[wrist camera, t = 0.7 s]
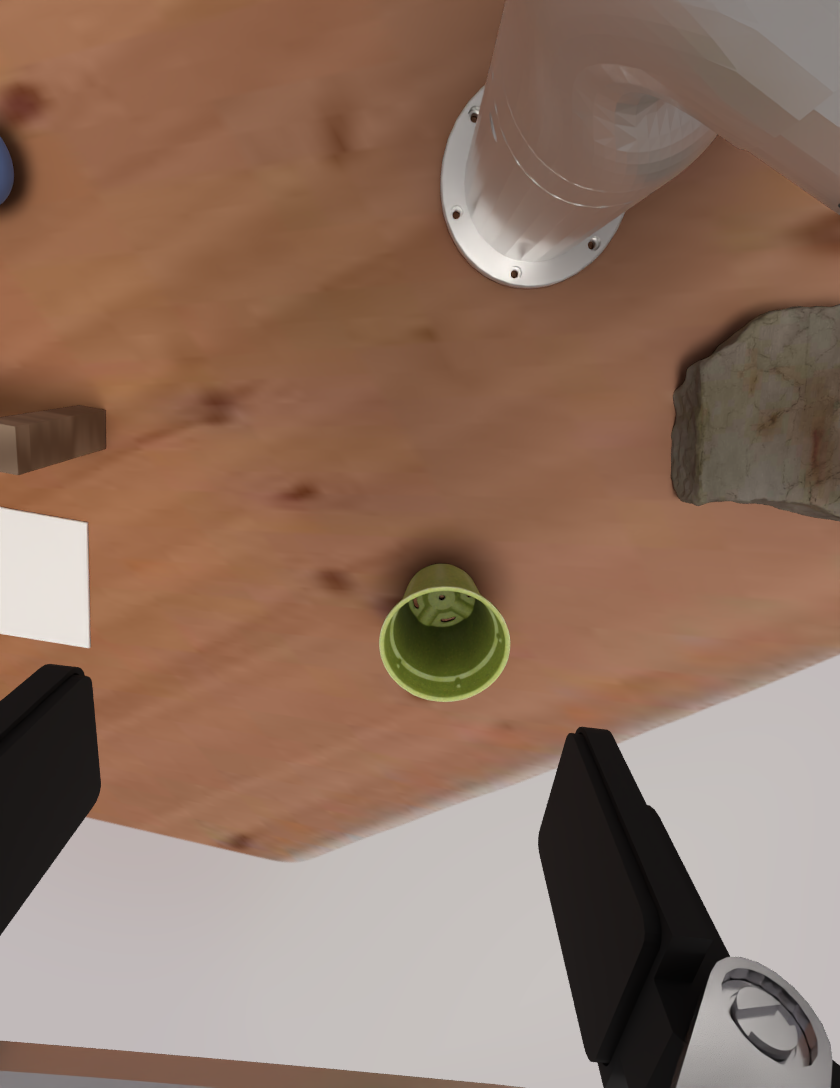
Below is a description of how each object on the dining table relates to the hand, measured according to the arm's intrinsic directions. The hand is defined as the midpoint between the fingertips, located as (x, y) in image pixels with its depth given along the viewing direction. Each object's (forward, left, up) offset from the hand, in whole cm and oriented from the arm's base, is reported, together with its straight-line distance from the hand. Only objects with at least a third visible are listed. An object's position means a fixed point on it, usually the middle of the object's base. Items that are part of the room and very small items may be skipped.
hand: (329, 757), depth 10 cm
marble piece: (-7, +28, -34) cm, 45 cm away
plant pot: (+12, +6, -34) cm, 36 cm away
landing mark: (+16, -30, -34) cm, 48 cm away
